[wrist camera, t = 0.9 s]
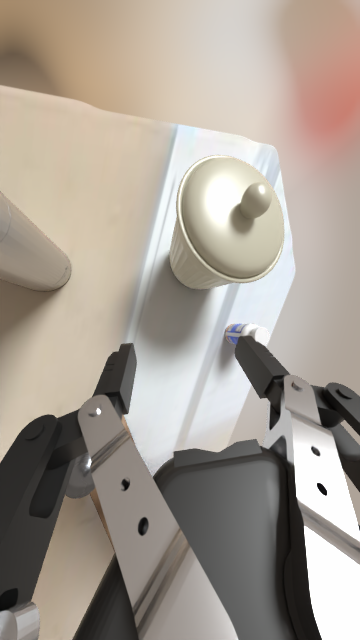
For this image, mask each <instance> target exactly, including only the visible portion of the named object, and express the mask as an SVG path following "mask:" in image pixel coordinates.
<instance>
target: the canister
mask: <svg viewBox="0 0 360 640" xmlns="http://www.w3.org/2000/svg"><path fill="white" fill-rule="evenodd" d="M176 211H177V218H176V223H175V227H174V232H173V236H172V241H171V247H170V256H169V259H170V265H171V269H172V271H173V273H174V275H175V277H176V278H177V279H178V280H179V281H180V282H181V283H182V284H184V285H185V286H187V287H189V288H192V289H197V290H200V289H202V290H204V289H209V288H214V287H218V286H222V285H226V284H230V283H249V282H253V281H256V280H258V279H261V278H262V277H264V276H265V275H267V274H268V273H269V272H270V271H271V270H272V269H273V268H274V266H275V265H276V263H277V261H278V259H279V257H280V255H281V252H282V248H283V243H284V220H283V213H282V209H281V206H280V203H279V200H278V198H277V195H276V193H275V191H274V190H273V188H272V186H271V185H270V183H269V182H268V181H267V179H266V178H265V177H264V176H263V175H262V174H261V173H260V172H259V171H258V170H257V169H255V168H254V167H253V166H251V165H250V164H248V163H246V162H244V161H242V160H239V159H236V158H234V157H230V156H225V155H213V156H208V157H205V158H202V159H200V160H199V161H197V162H196V163H194V164H193V165H192V166H191V167H190V168H189V169H188V170H187V172H186V173H185V175H184V176H183V178H182V180H181V183H180V186H179V189H178V193H177V201H176Z"/></svg>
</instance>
